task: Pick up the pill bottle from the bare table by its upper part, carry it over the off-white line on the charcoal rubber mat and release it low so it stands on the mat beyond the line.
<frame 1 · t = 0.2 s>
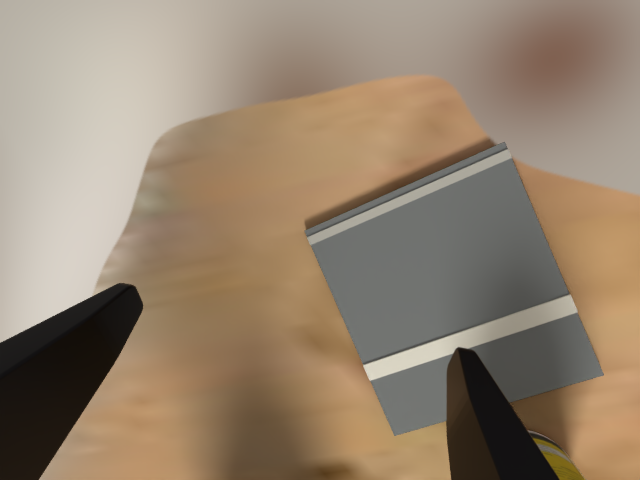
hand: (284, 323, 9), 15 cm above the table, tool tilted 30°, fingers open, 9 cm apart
pill bottle: (517, 466, 23), on the table
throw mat: (444, 296, 23), on the table
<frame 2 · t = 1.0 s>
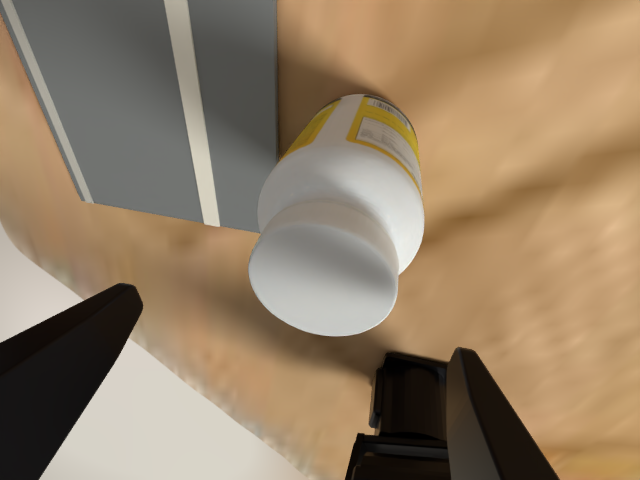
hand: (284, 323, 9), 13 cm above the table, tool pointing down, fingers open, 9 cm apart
pill bottle: (361, 148, 19), on the table
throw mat: (157, 121, 21), on the table
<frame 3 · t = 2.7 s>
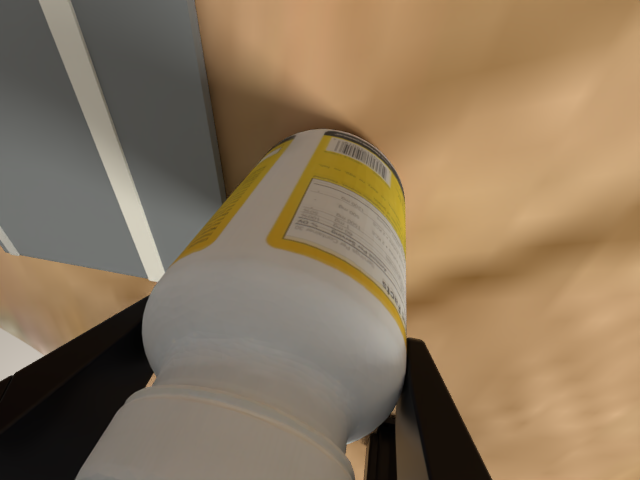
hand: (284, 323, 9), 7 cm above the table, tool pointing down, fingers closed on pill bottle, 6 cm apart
pill bottle: (331, 194, 15), on the table, touching gripper
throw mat: (73, 162, 16), on the table
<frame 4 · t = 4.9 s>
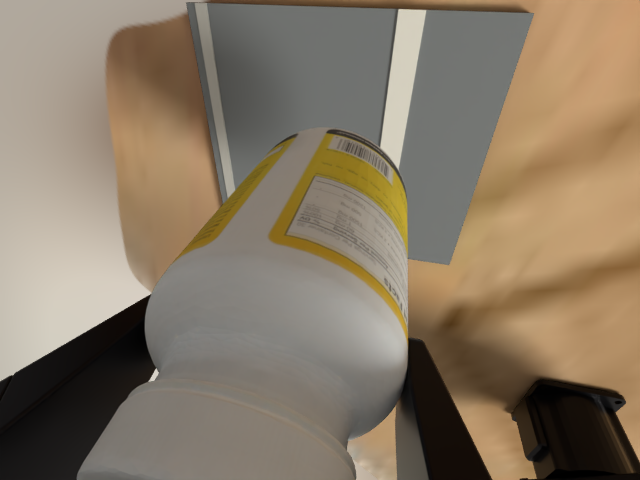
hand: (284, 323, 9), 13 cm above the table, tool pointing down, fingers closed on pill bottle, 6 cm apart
pill bottle: (333, 193, 15), point 6 cm above the table, touching gripper
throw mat: (339, 150, 20), on the table
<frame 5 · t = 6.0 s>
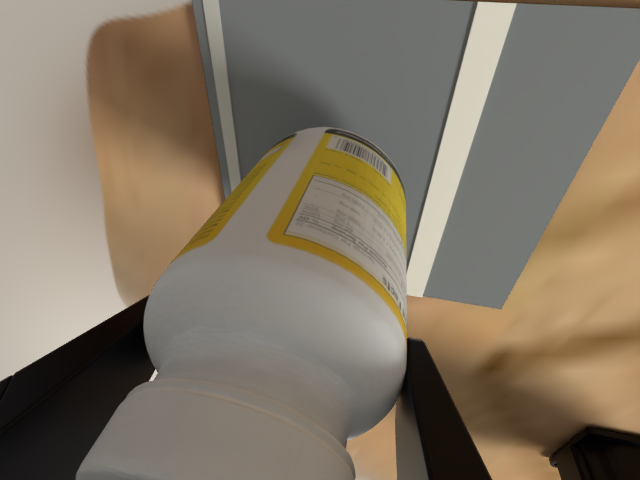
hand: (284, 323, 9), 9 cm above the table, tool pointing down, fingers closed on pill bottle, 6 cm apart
pill bottle: (332, 193, 15), point 2 cm above the table, touching gripper
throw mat: (377, 176, 16), on the table
when the fingers open (8 cm above the table, at t = 7.1 s): pill bottle stays where it is, resting on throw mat.
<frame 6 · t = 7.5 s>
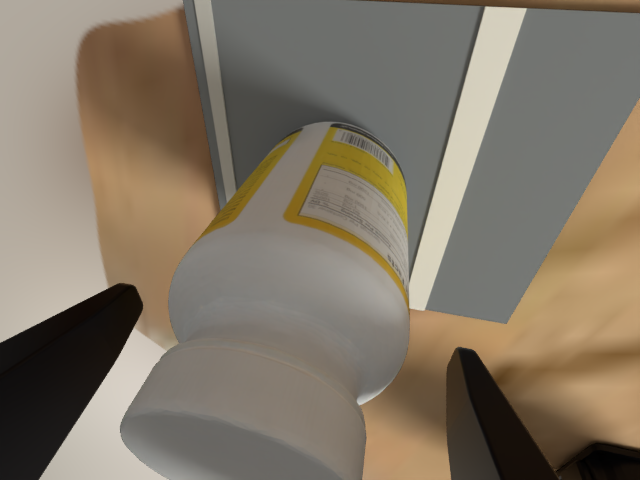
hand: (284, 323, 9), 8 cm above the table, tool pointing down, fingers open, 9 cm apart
pill bottle: (336, 185, 15), resting on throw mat
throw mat: (378, 187, 15), on the table
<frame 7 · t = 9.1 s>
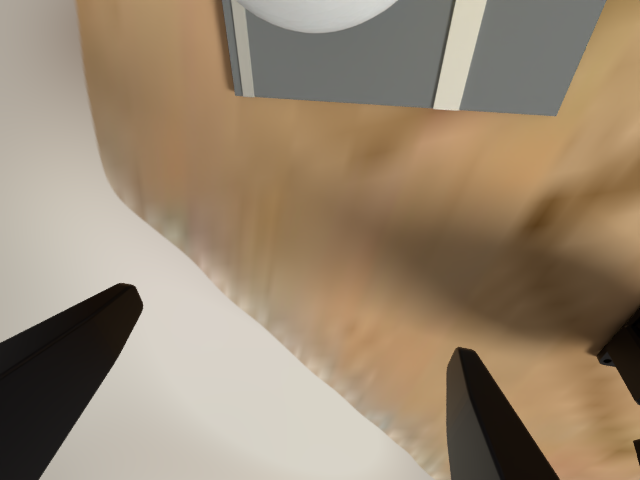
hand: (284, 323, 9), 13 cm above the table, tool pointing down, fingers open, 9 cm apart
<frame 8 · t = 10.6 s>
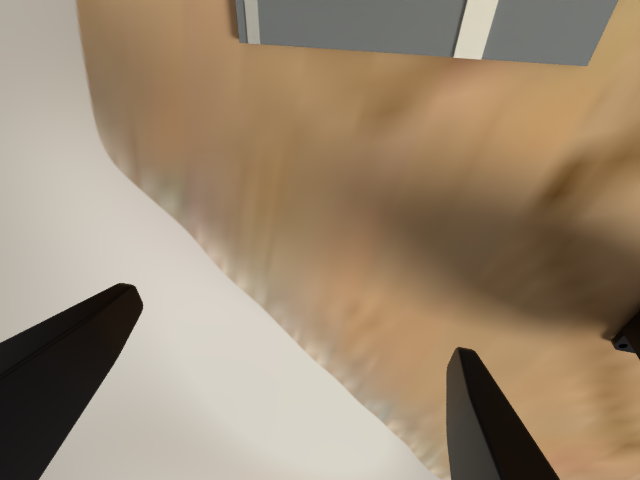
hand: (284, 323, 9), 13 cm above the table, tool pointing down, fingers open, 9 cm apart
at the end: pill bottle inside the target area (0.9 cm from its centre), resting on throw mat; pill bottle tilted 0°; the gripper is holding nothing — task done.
